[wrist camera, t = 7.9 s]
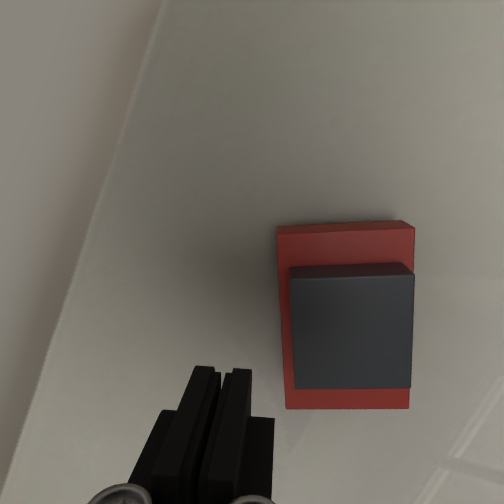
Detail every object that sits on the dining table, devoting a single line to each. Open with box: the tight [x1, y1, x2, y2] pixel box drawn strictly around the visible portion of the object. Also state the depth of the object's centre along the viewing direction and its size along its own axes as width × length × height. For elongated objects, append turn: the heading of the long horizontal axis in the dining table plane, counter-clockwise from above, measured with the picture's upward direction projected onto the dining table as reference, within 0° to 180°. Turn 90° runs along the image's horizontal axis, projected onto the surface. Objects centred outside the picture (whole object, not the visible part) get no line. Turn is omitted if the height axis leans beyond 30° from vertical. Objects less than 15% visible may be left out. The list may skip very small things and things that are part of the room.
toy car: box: [276, 220, 415, 409], centre depth 19 cm, size 9×5×6 cm
